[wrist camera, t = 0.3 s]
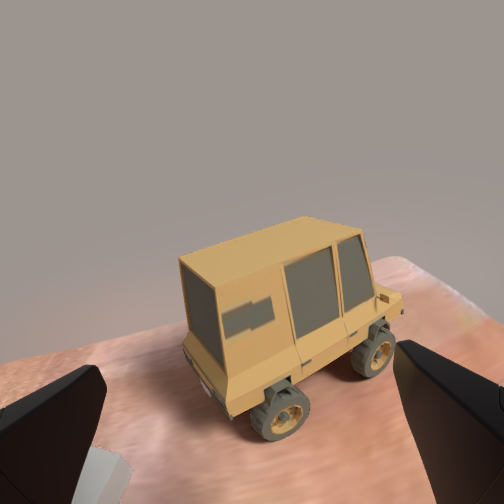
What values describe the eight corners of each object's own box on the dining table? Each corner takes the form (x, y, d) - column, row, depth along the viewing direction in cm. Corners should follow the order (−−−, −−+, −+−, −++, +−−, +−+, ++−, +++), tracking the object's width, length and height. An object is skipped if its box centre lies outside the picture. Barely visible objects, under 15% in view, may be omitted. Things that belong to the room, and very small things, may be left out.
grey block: (99, 552, 12) (78, 539, 11) (25, 511, 14) (5, 495, 13) (135, 472, 21) (120, 454, 20) (63, 449, 22) (48, 431, 21)
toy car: (404, 357, 29) (414, 217, 24) (247, 464, 21) (197, 310, 16) (338, 321, 38) (331, 201, 33) (196, 394, 30) (151, 258, 24)
